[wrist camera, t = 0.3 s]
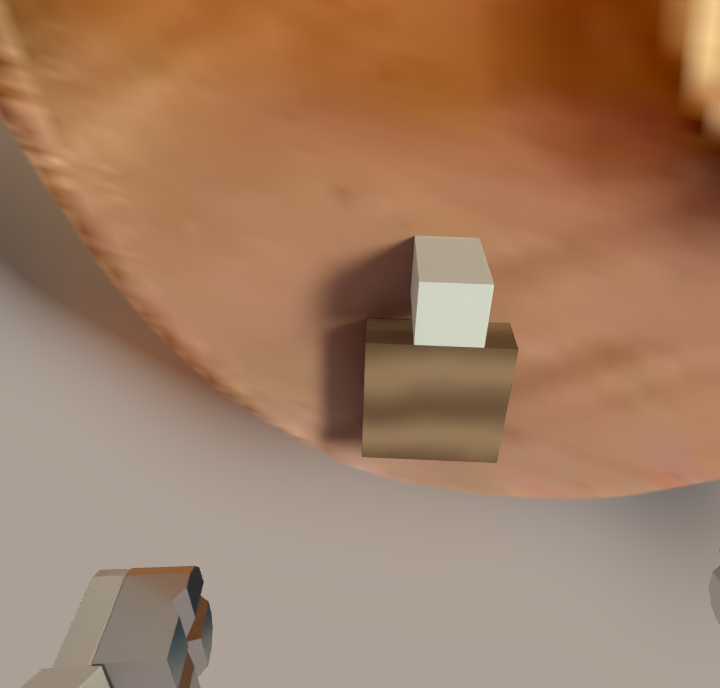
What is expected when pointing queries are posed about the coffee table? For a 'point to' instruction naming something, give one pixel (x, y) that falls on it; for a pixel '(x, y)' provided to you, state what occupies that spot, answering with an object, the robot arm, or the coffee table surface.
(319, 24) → the coffee table surface
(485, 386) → the walnut plinth
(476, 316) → the light grey block
